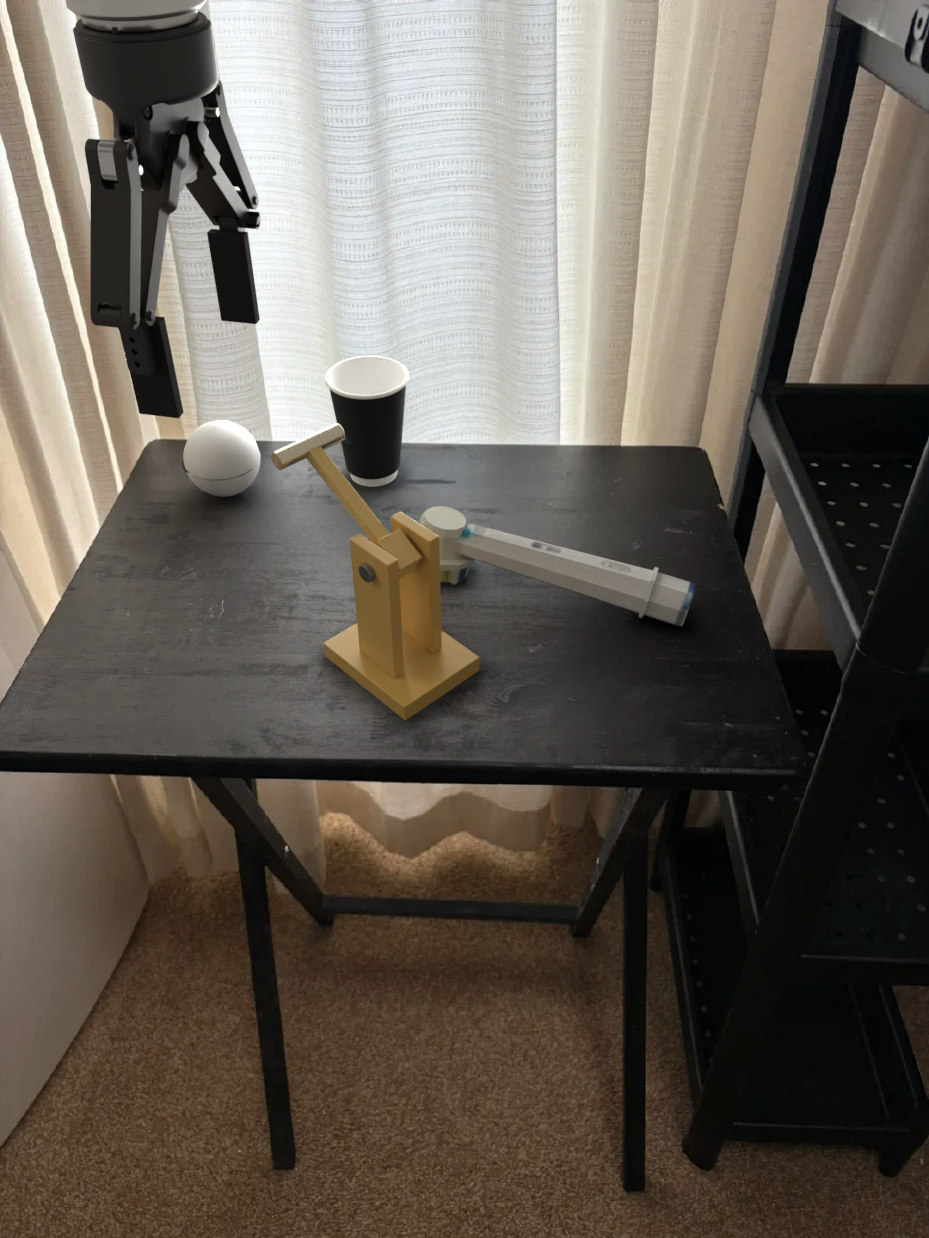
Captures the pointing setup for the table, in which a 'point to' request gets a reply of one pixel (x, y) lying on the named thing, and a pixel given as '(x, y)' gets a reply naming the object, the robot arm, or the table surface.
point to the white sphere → (221, 458)
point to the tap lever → (347, 493)
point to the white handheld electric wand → (557, 567)
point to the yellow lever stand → (400, 626)
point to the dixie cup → (370, 415)
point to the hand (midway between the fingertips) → (203, 364)
